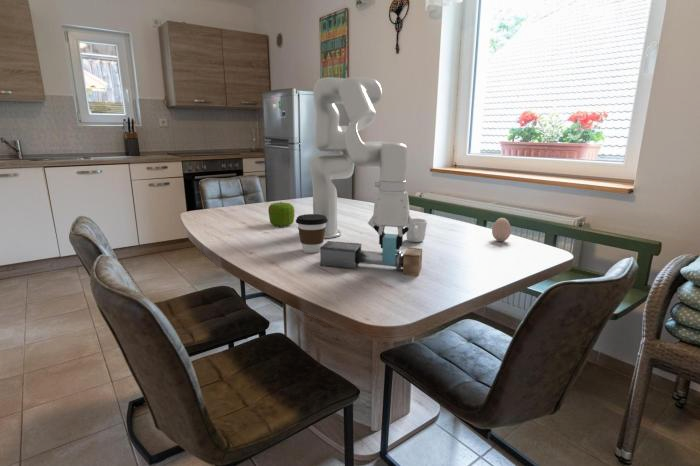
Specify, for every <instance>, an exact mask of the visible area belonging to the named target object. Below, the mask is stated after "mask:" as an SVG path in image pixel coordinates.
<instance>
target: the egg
mask: <svg viewBox="0 0 700 466" xmlns="http://www.w3.org/2000/svg"><path fill="white" fill-rule="evenodd" d="M511 232H512V229H511V224H510V222H509V220H508V219H506V218H505V217H499V218H497V220H496V221H494V223H493V225H492V229H491V234H492V237H493V239H494V240H496V241H497V242H499V243H500V242H501V243H502V242H505V241H507V240H508V239H509V237H510V236H511Z"/></svg>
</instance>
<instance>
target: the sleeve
mask: <svg viewBox="0 0 700 466" xmlns="http://www.w3.org/2000/svg"><path fill="white" fill-rule="evenodd" d="M357 250H362V243H357V242H346V241H345V242H343V241H332V240H327V242H325V243H323V245H322V246H321V247H320V252H319V253H320V256H319V257H320V259H319V260H320V262H319V264H320V267H327V268H338V269H348V270H356V269H357V268H358V266H359V265H360V264H361V263H356V251H357Z"/></svg>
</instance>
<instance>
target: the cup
mask: <svg viewBox="0 0 700 466" xmlns="http://www.w3.org/2000/svg"><path fill="white" fill-rule="evenodd" d="M411 219H412V220H413V222H414V224H415V227H414V228H412V229H411V230H409V231H407V232H406V233H405V234H406V240H407V241H408V242H411V243H421V242H423V241H424V240H425V237H426V231H427V225H428V220H426V219H425V218H418V217H417V218H416V217H415V218H413V217H411ZM408 225H409V223H408V224H407V225H406V226H405V227H407V226H408Z"/></svg>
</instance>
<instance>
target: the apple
mask: <svg viewBox="0 0 700 466" xmlns="http://www.w3.org/2000/svg"><path fill="white" fill-rule="evenodd" d="M267 212H268V216H269V217H268V218H269V223H270V224H271V225H272V226H274V227H276V226H278V227H277V228H285V227H284V226H286V227H289V226H290V225H292V224H294V221H295V208H294V206H293V205H292V204H291V203H289V202H282V201H279V202H274V203H270V205H269V206H268V211H267Z"/></svg>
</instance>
